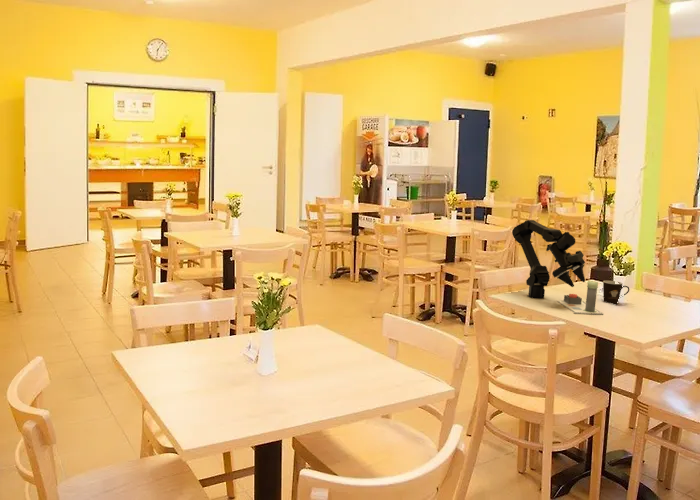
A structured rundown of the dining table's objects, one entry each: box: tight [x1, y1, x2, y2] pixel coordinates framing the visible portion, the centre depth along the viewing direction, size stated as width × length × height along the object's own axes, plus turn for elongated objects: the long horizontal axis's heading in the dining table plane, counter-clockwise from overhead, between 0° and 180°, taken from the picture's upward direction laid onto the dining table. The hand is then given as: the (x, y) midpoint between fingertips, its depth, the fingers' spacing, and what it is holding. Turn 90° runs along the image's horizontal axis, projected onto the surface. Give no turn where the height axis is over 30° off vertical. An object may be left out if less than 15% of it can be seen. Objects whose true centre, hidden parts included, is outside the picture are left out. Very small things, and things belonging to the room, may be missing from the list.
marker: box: [585, 280, 599, 312], centre depth 315 cm, size 4×4×13 cm
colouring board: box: [556, 300, 604, 316], centre depth 323 cm, size 13×23×1 cm, turn 4°
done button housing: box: [563, 294, 583, 304], centre depth 331 cm, size 6×6×3 cm
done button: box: [568, 293, 578, 298], centre depth 331 cm, size 4×4×2 cm
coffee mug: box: [602, 280, 630, 305], centre depth 337 cm, size 12×9×10 cm
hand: (578, 284), depth 320 cm, fingers open, 9 cm apart
